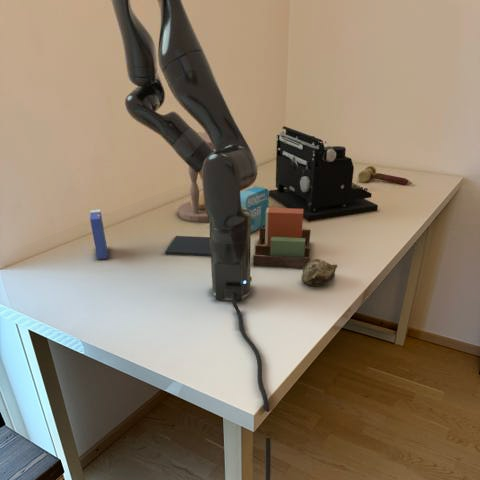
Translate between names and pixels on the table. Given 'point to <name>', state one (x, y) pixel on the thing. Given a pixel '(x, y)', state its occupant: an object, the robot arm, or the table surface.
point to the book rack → (266, 260)
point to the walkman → (98, 234)
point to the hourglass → (195, 195)
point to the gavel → (380, 176)
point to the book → (283, 223)
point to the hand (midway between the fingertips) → (237, 194)
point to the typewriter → (316, 178)
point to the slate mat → (190, 246)
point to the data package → (256, 205)
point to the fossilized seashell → (318, 272)
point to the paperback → (287, 246)
